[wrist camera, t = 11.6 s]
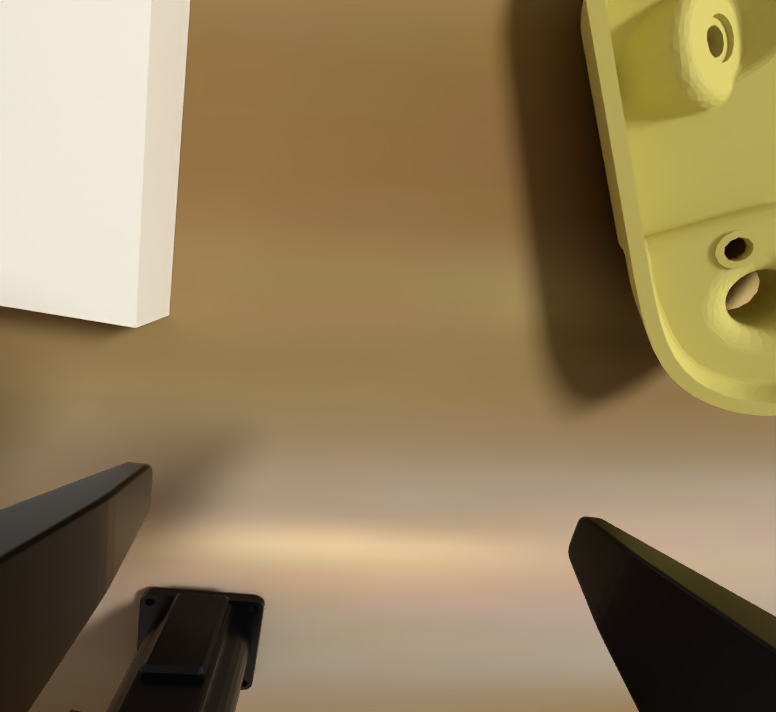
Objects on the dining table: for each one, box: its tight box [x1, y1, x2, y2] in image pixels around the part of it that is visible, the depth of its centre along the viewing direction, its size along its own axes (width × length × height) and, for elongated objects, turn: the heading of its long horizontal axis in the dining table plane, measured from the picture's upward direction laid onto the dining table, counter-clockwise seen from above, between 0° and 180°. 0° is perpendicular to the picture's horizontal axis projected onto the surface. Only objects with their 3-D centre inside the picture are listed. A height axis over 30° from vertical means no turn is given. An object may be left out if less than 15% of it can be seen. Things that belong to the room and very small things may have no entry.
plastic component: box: [580, 0, 776, 416], centre depth 17 cm, size 20×7×10 cm
